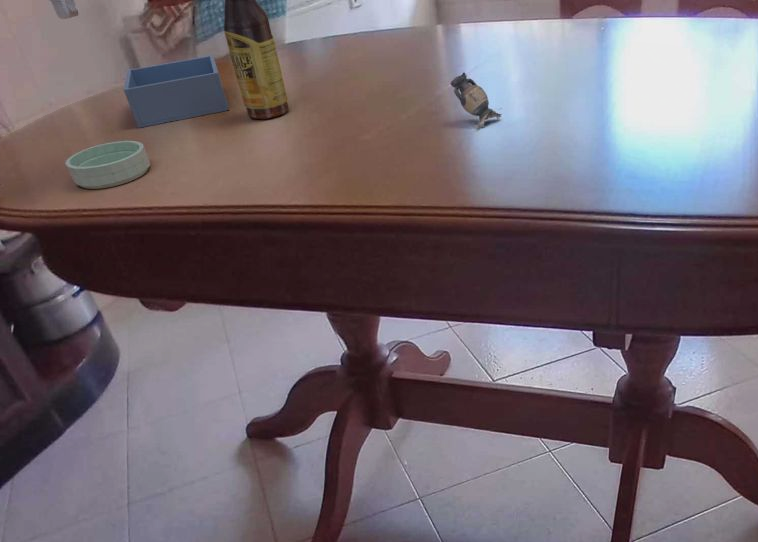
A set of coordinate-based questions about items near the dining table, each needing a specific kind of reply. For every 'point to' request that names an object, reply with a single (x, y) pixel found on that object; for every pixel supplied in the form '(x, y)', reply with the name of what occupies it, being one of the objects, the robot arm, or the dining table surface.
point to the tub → (175, 91)
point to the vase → (473, 99)
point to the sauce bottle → (255, 59)
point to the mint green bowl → (108, 164)
